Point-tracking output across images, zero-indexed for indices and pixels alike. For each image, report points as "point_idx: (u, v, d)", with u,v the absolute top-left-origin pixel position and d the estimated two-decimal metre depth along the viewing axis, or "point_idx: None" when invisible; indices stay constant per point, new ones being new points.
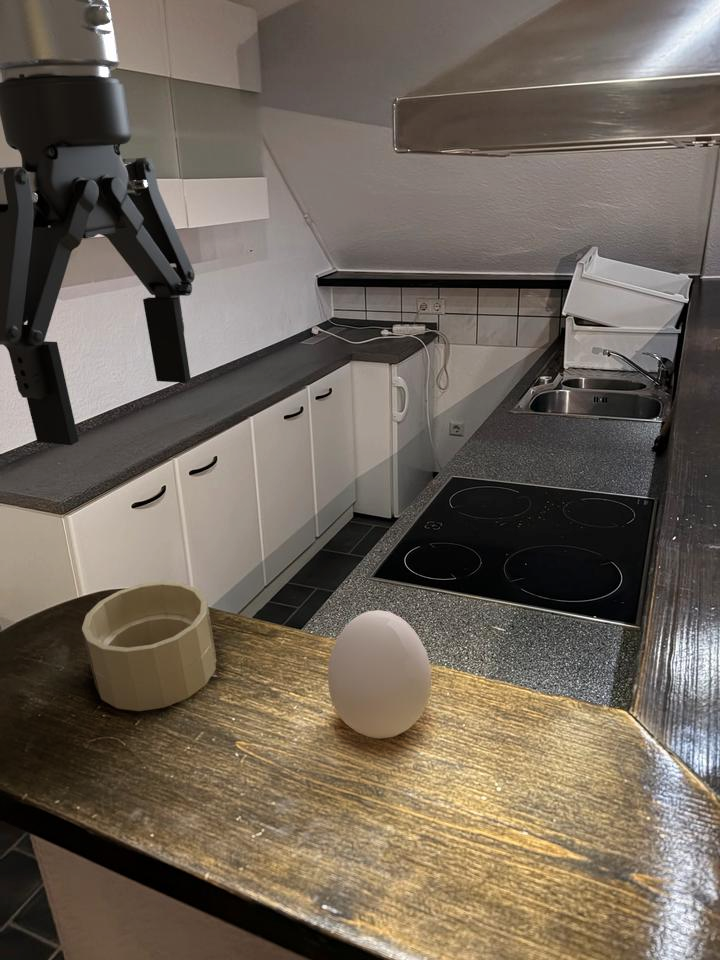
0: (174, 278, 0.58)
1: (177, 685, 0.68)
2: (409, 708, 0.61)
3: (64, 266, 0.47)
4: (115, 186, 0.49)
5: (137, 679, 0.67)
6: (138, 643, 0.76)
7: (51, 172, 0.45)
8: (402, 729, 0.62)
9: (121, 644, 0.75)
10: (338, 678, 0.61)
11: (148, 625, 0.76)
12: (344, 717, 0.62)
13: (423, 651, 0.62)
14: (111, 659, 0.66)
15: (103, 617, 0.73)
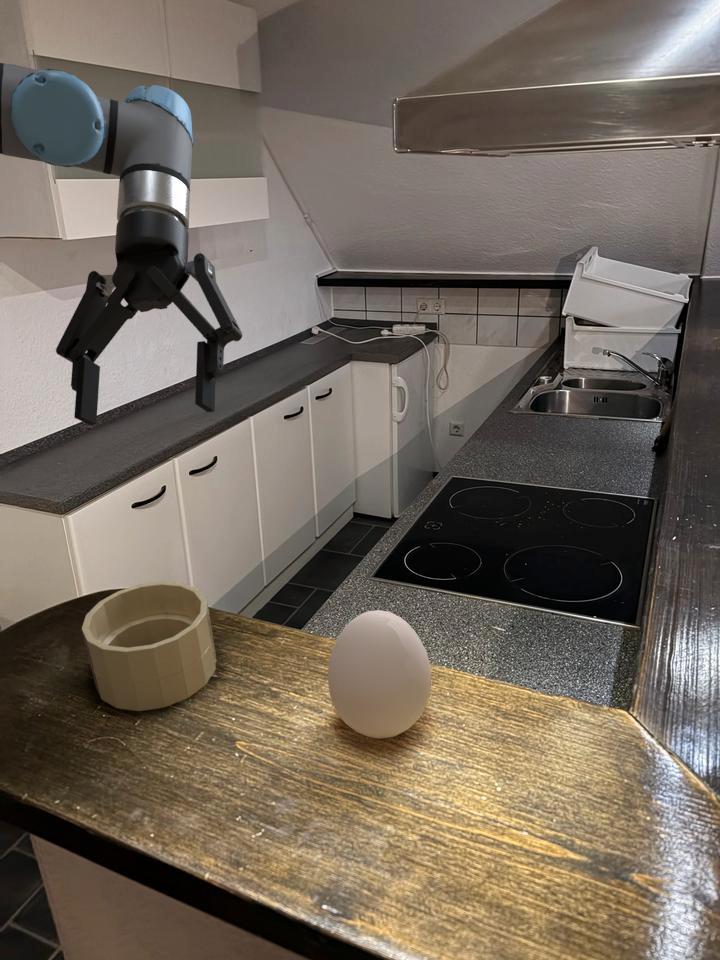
0: None
1: (177, 685, 0.68)
2: (409, 709, 0.61)
3: None
4: None
5: (137, 679, 0.67)
6: (138, 643, 0.76)
7: None
8: (402, 729, 0.62)
9: (121, 644, 0.75)
10: (338, 678, 0.61)
11: (148, 625, 0.76)
12: (344, 717, 0.62)
13: (423, 651, 0.62)
14: (111, 659, 0.66)
15: (103, 617, 0.73)
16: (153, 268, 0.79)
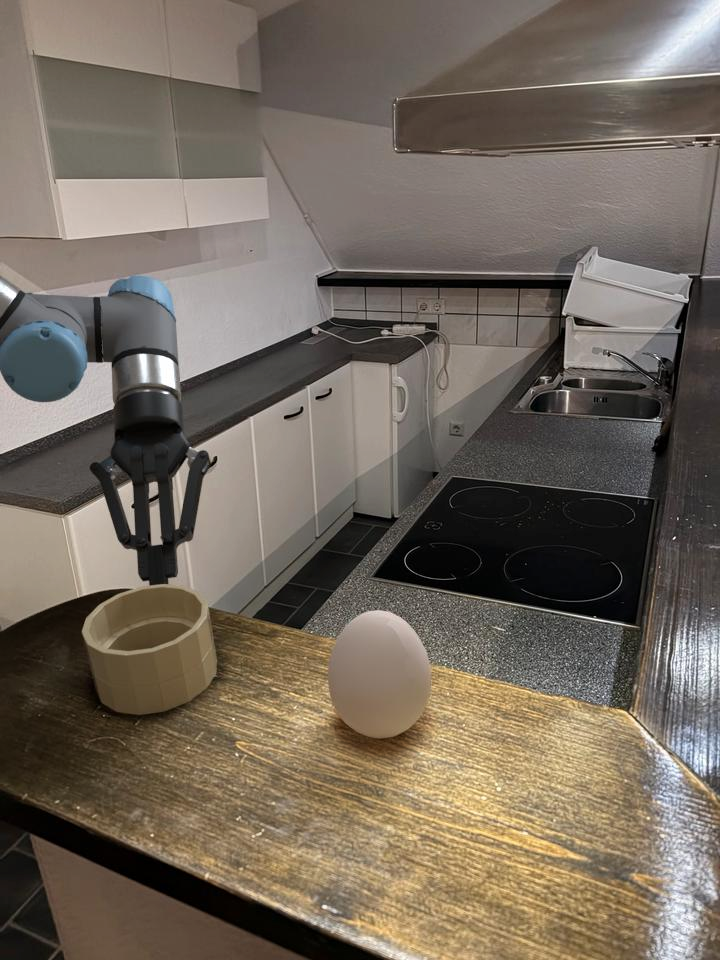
0: None
1: (177, 688, 0.68)
2: (409, 709, 0.61)
3: None
4: None
5: (137, 683, 0.66)
6: (139, 646, 0.76)
7: None
8: (402, 729, 0.62)
9: (121, 647, 0.74)
10: (338, 678, 0.61)
11: (148, 628, 0.76)
12: (344, 717, 0.62)
13: (423, 651, 0.62)
14: (111, 663, 0.66)
15: (103, 620, 0.72)
16: (162, 446, 0.82)
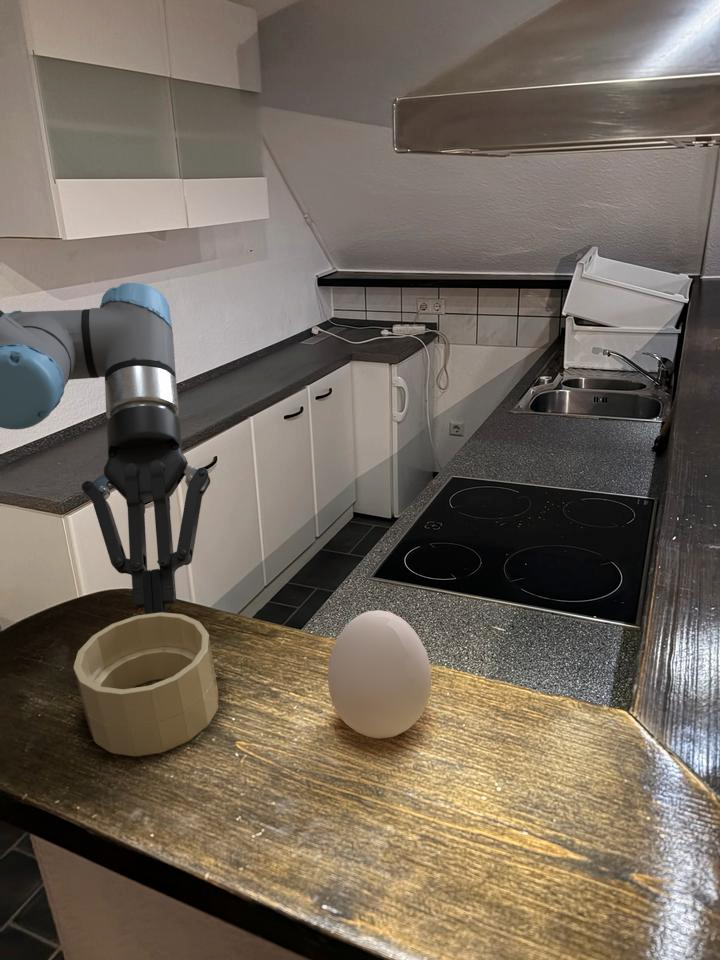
0: None
1: (177, 727, 0.63)
2: (409, 709, 0.61)
3: None
4: None
5: (133, 723, 0.62)
6: (134, 678, 0.71)
7: None
8: (402, 729, 0.62)
9: (116, 681, 0.69)
10: (338, 678, 0.61)
11: (145, 659, 0.71)
12: (344, 717, 0.62)
13: (423, 651, 0.62)
14: (105, 702, 0.61)
15: (97, 652, 0.68)
16: (158, 464, 0.78)
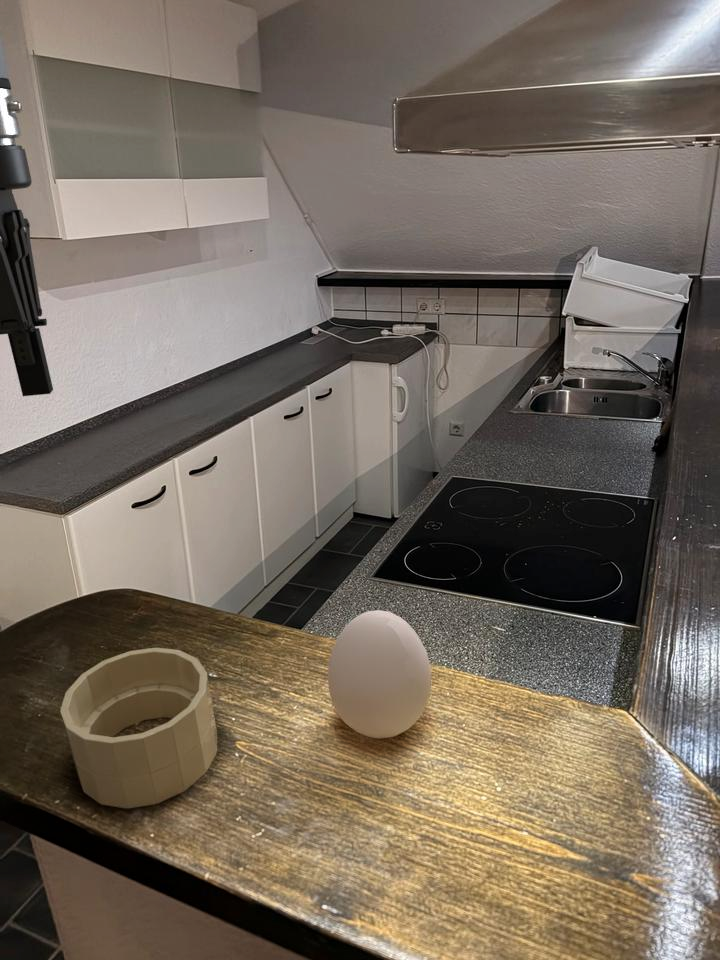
0: (35, 311, 0.77)
1: (172, 777, 0.58)
2: (409, 709, 0.61)
3: (20, 274, 0.73)
4: (21, 214, 0.73)
5: (124, 773, 0.57)
6: (127, 718, 0.66)
7: None
8: (402, 729, 0.62)
9: (107, 722, 0.64)
10: (338, 678, 0.61)
11: (139, 698, 0.66)
12: (344, 717, 0.62)
13: (423, 651, 0.62)
14: (94, 750, 0.56)
15: (86, 692, 0.63)
16: None
